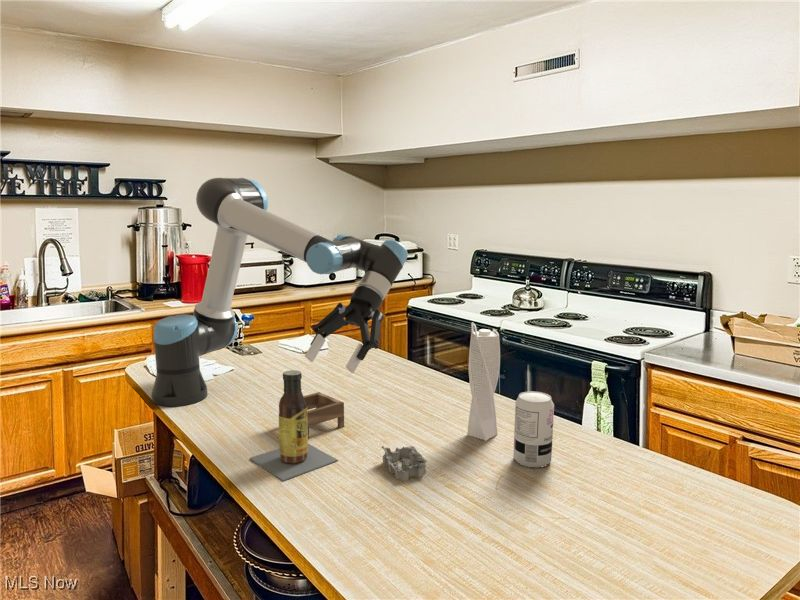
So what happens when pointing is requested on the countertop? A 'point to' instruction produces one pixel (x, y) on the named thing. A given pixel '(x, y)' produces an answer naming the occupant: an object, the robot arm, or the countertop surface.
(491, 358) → the skyscraper
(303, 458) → the sauce bottle
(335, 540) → the countertop surface
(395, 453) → the egg carton
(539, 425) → the supplement can
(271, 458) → the slate mat
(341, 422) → the wooden square frame
